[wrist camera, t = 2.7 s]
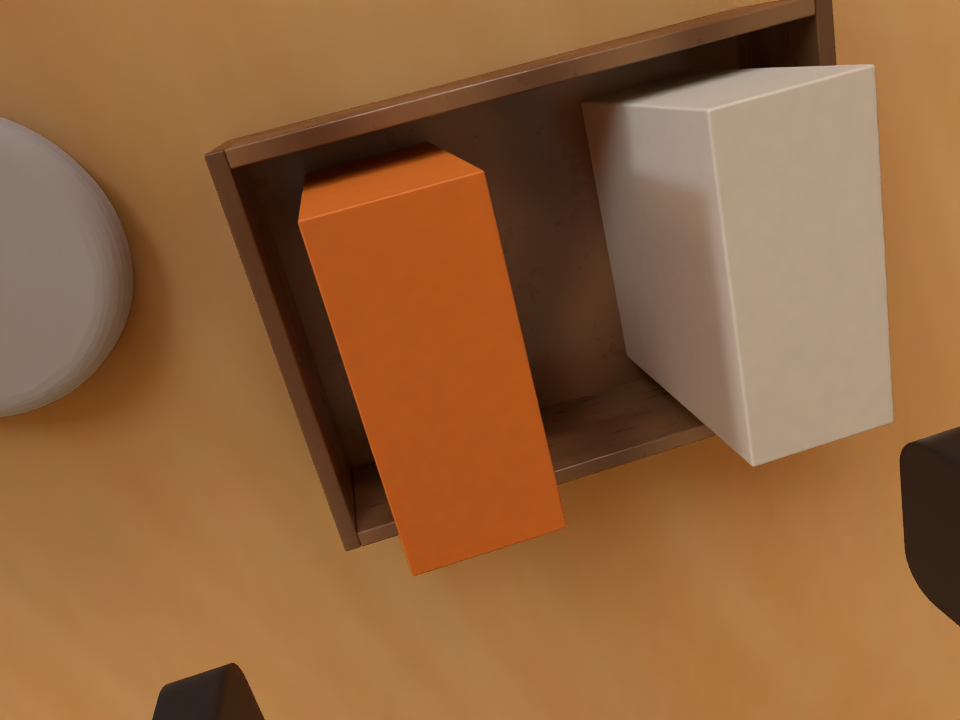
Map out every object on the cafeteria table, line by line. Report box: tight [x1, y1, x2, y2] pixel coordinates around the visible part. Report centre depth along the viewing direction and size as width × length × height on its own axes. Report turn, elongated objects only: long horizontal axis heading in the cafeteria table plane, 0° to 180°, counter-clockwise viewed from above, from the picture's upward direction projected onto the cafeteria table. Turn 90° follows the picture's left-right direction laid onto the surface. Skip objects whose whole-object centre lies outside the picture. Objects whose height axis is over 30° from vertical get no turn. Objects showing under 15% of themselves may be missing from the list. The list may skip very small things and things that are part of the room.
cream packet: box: [581, 64, 894, 467], centre depth 23 cm, size 4×9×9 cm, turn 14°
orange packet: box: [298, 142, 566, 576], centre depth 22 cm, size 4×9×9 cm, turn 14°
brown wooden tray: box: [205, 0, 836, 551], centre depth 25 cm, size 17×12×5 cm
